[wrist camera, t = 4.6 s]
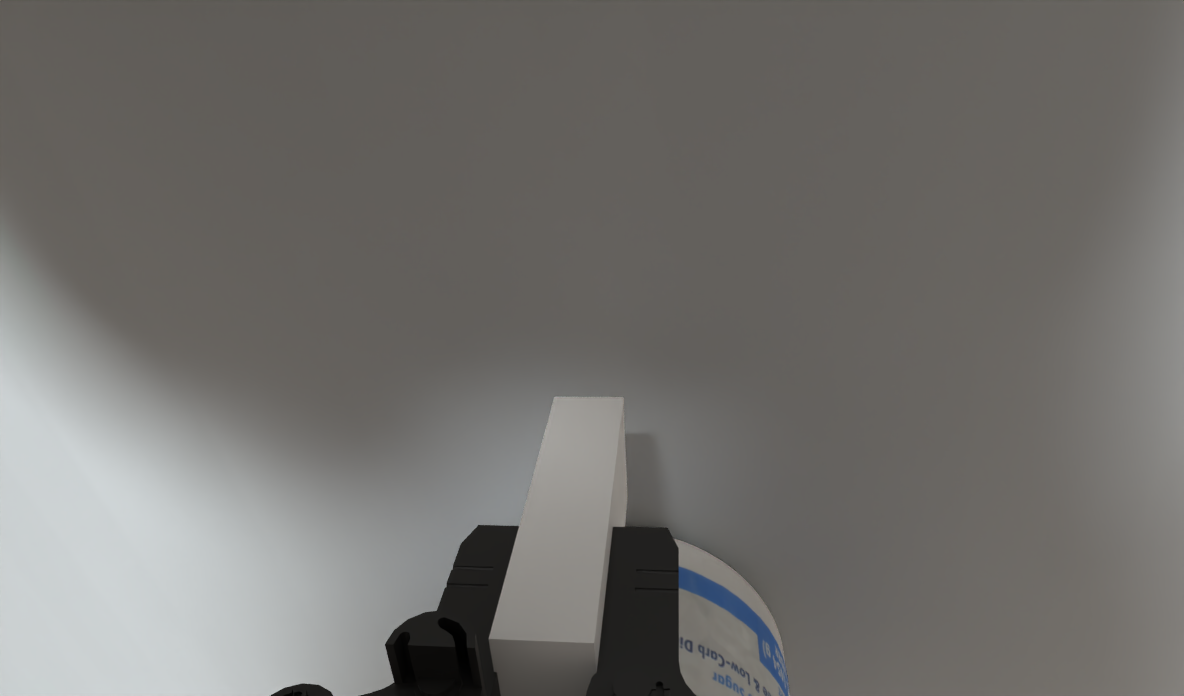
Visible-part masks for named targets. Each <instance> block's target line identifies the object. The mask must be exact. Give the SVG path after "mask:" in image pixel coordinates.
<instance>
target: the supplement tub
mask: <svg viewBox="0 0 1184 696" xmlns="http://www.w3.org/2000/svg"><path fill="white" fill-rule="evenodd" d="M673 539H674V538H673ZM674 541H675V542H676V544H677V546H678V548H679V665H680V672H681V674H682V676H683V678H684V681H685V683H686V684H687V685H688V687H689V688H690V689H691V690H692V692H693V693H694V694H695V695H697V696H790V692H789V684H788V676H787V671H786V665H785V657H784V650H783V645H782V641H781V637H780V634H779V631H778V628H777V625H776V623H775V621H774V619H773V616H772V615H771V613H770V611H769V609H768V608H767V606H766V604H765V603H764V601H763V600H762V598H761V597H760V596H759V594H758V593H757V592H756V591H755V590H754V589H753V587H752V586H751V585H750V584H749V583H748V582H747V581H746V580H745V579H744V578H743V577H742V576H741V575H740V574H738V573H737V572H736V571H735V570H733V569H732V568H731V567H730V566H728V565H727V564H725V563H724V562H723V561H721V560H720V559H718V558H716V557H715V556H713V555H711V554H709V553H708V552H706V551H704V550H702V549H700V548H698V547H695V546H693V545H691V544H688V543H686V542H683V541H681V540H677V539H674Z"/></svg>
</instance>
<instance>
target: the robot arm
mask: <svg viewBox="0 0 1184 696" xmlns="http://www.w3.org/2000/svg"><path fill="white" fill-rule="evenodd" d="M627 500H628V494H627V469H626V445H625V421H624V397H554V400H553V404H552V407H551V411H550V415H549V418H548V422H547V426H546V429H545V433H544V437H543V440H542V444H541V448H540V451H539V455H538V459H537V462H536V466H535V470H534V473H533V477H532V481H531V485H530V488H529V492H528V496H527V499H526V503H525V507H524V510H523V514H522V518H521V521H520V525H519V526H493V525H478V526H477V527H476V528H475V530H474V531H473V532H472V533H471V534H470V535H469V536H468V537H467V538H466V539H465V540H464V541H463V542H462V543H461V545H460V548H459V551H458V554H457V556H456V559H455V562H454V565H453V570H451V573H450V576H449V578H448V581H447V587H446V588H445V590H444V592H443V595H442V598H441V601H440V603H439V606H438V609H437V611H433V612H425V613H422V614H420V615H418V616H415V617H413V618H410V619H408V620H407V621H405V622H404V623H403V624H402V625H400V626H399V627H398V628H397V629H395V630H394V631H393V633H392V634H391V636H390V637H389V639H388V640H387V642H386V643H385V646H386V650H387V654H388V658H389V662H390V666H391V670H392V674H393V678H394V682H395V683H393V684H391V685H389V686H388V687H386V688H384V689H381V690H378V691H375V692H372V693H368V694H364V695H360V696H697V695H695V694H694V693H693V692H692V690H691V689H690V688H689V687H688V685H687V684H686V683H685V681H684V678H683V676H682V674H681V672H680V665H679V548H678V546H677V544H676V542H675V541H674V539H673V537H672V535H671V534H670V532H669V530H668V528H649V527H625V522H626V511H627ZM271 696H333V695H332V693H331V692H330V691H328V690H327V689H325V688H323V687H321V686H320V685H313V684H299V685H295V686H290V687H286V688H284V689H282V690H280V691H278V692H276V693H274V694H272V695H271Z"/></svg>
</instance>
